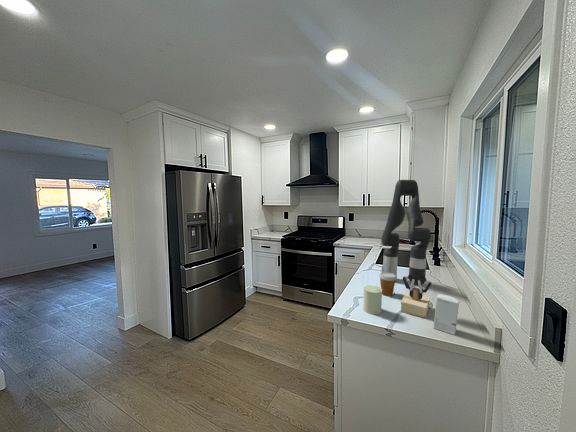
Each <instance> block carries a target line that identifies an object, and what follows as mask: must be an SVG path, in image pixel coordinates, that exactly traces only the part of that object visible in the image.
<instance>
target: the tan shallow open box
mask: <svg viewBox="0 0 576 432" xmlns="http://www.w3.org/2000/svg"><path fill="white" fill-rule="evenodd" d="M400 304H401V303H400ZM400 306H401V307H400V312H401V313H404V314H408V315H410V316H411V315H412V316H415V317H418V318H419V317H420V318H422V319H426V317H427V314H428V312H429V308H430V302H429V303H428V306H427V309H426V310H424V309H421V308H417V307H413V306H409V305H405V304H401V305H400Z"/></svg>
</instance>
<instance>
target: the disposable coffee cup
mask: <svg viewBox="0 0 576 432" xmlns="http://www.w3.org/2000/svg"><path fill="white" fill-rule="evenodd" d="M379 280H380V281H379V282H380V288H381V289H382V296H385V297H392V296H393V295H394V290H395V284H396V281H395V280H396V276H395V275H394V274H392V273H382V272H381V273H380V274H379Z"/></svg>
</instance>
